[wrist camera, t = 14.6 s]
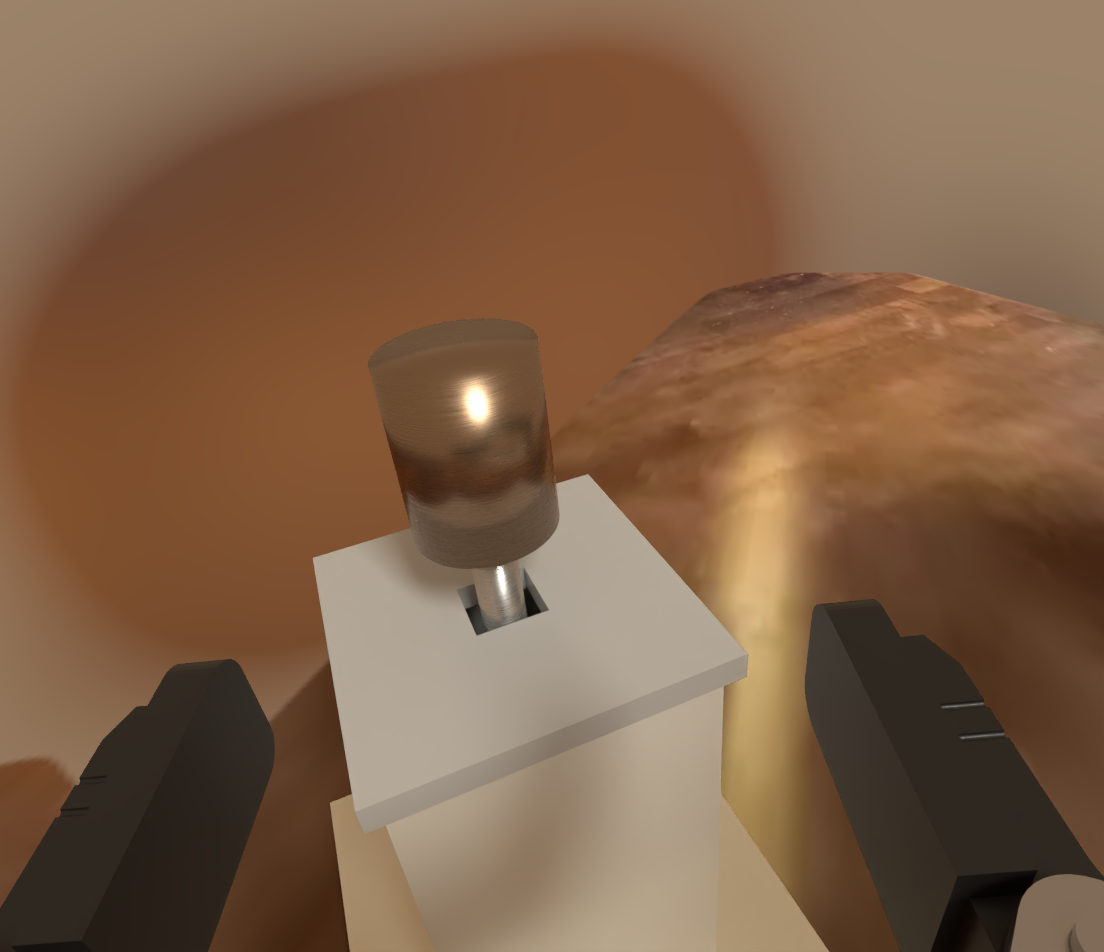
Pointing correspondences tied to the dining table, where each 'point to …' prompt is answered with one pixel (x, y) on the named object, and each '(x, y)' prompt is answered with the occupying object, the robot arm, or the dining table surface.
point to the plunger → (471, 450)
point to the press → (541, 754)
